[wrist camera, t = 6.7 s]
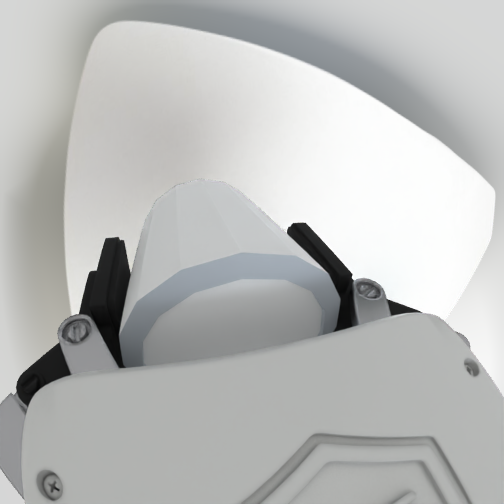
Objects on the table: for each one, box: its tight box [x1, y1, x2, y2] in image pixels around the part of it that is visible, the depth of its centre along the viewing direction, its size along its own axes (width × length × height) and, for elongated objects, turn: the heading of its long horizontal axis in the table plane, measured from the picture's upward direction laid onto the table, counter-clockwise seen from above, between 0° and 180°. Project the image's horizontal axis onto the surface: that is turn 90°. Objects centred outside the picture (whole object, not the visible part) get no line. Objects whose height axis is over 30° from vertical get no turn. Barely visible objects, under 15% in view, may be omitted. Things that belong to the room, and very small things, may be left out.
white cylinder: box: [119, 179, 341, 368], centre depth 10 cm, size 7×7×7 cm
